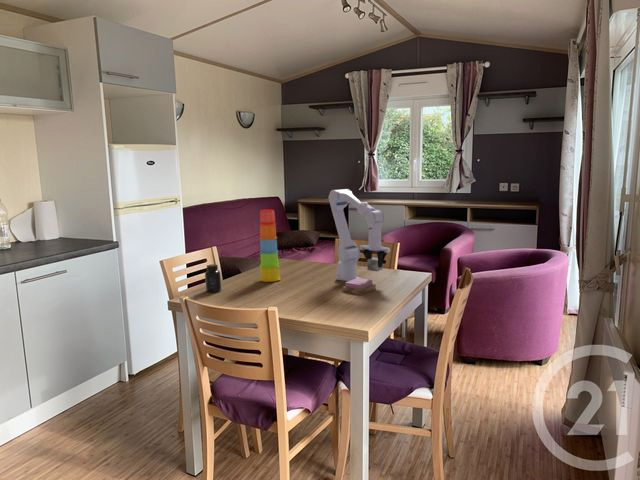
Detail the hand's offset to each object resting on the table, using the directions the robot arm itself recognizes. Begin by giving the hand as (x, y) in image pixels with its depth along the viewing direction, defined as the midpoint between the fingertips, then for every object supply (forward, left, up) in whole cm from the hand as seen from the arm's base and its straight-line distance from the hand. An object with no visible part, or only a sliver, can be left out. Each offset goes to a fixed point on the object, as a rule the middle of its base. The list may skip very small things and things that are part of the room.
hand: (374, 266), depth 222 cm
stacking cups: (-49, -18, -10) cm, 53 cm away
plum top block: (-3, -9, -8) cm, 12 cm away
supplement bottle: (-57, -47, -10) cm, 74 cm away
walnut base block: (-3, -9, -10) cm, 14 cm away
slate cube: (0, 0, -2) cm, 2 cm away
